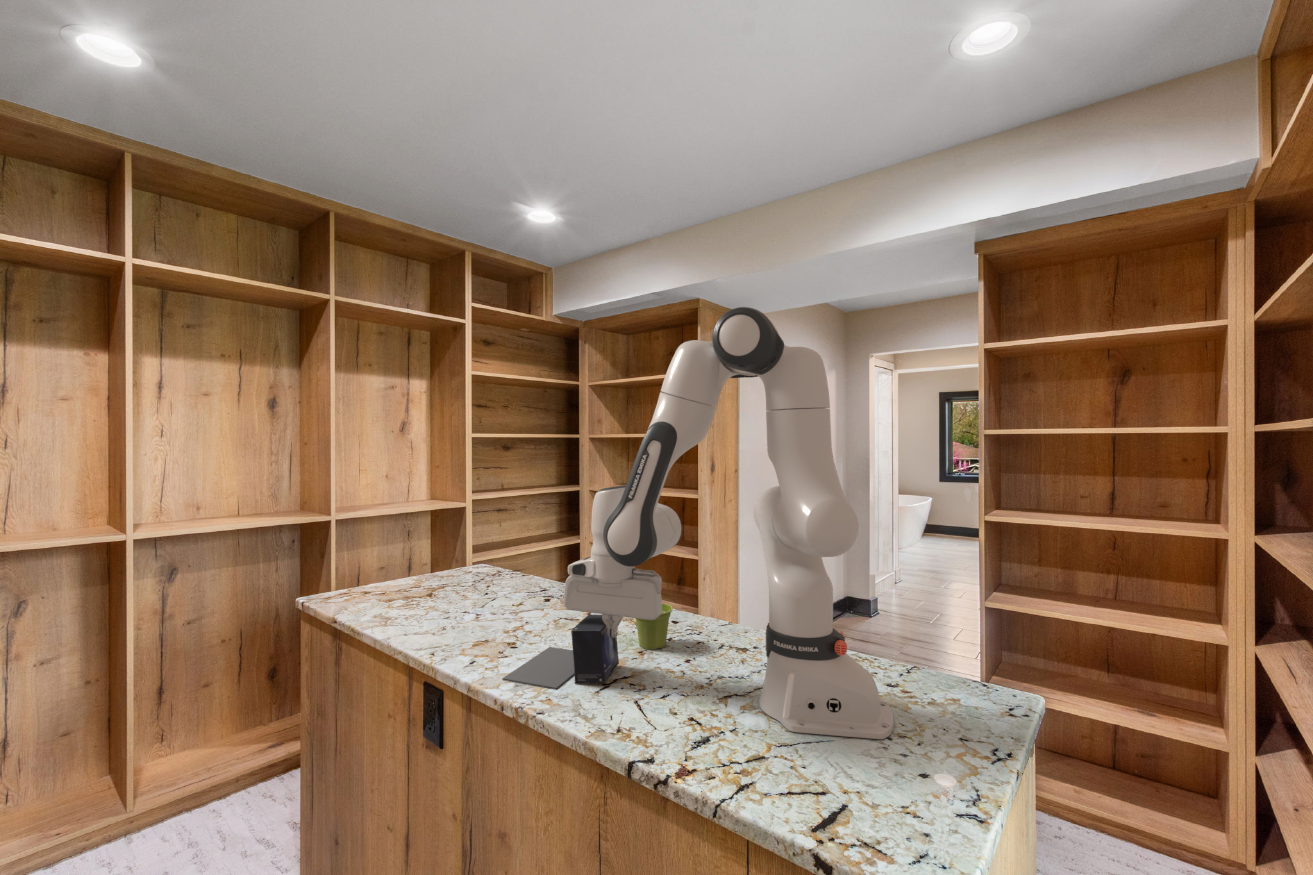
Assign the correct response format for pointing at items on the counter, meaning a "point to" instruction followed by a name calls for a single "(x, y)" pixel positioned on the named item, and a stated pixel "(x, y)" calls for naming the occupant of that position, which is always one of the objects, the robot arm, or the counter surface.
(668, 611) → the plant pot
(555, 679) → the mat
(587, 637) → the small box
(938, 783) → the counter surface
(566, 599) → the robot arm
